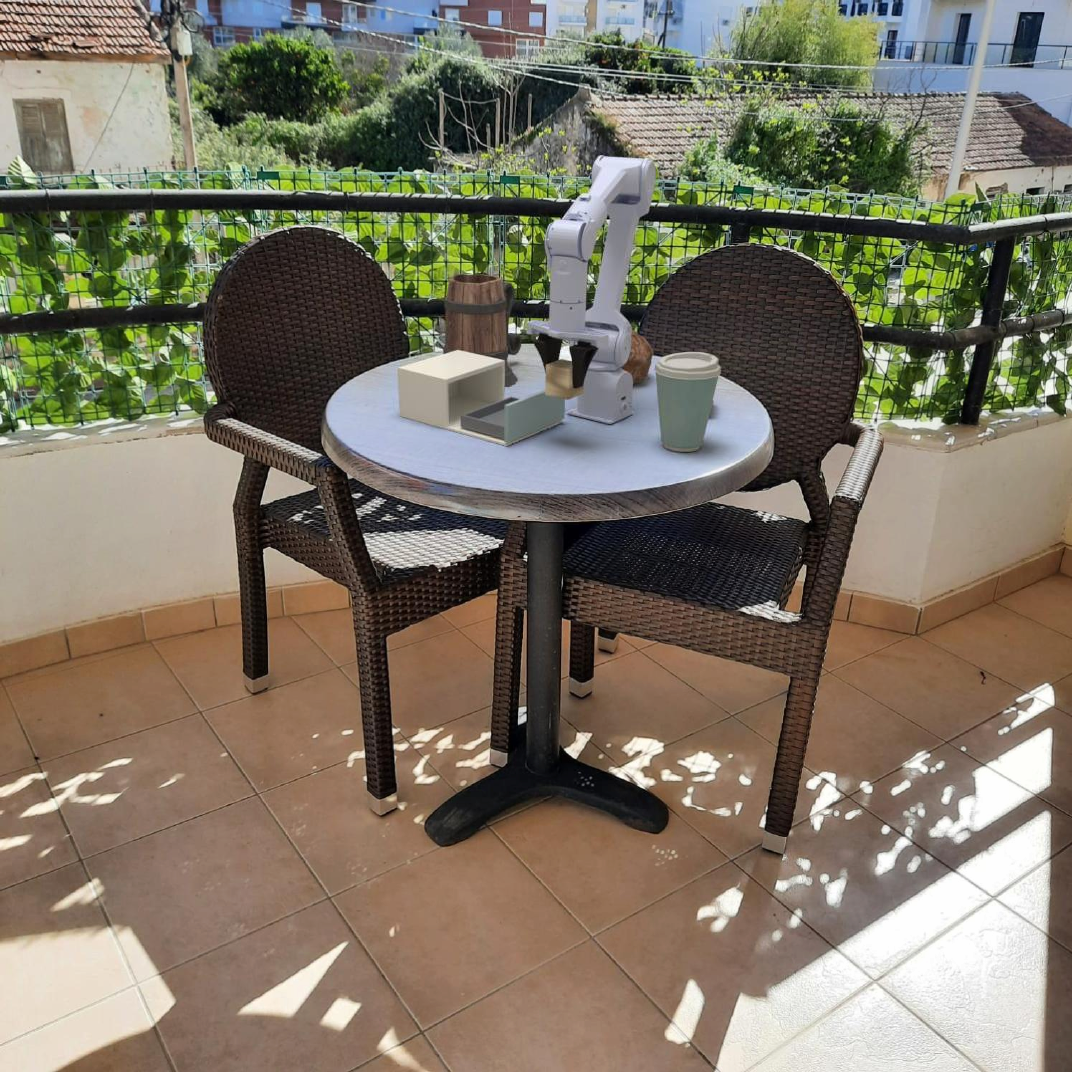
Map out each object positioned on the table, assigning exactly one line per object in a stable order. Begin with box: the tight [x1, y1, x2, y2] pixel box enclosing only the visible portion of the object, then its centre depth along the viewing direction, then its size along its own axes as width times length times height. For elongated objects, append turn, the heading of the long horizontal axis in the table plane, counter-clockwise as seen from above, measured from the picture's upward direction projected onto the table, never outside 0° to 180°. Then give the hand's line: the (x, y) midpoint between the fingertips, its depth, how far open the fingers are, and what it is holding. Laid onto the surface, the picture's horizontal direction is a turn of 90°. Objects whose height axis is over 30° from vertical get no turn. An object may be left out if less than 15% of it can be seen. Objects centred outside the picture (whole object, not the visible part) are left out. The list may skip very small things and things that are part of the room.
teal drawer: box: [460, 389, 566, 443], centre depth 166 cm, size 11×16×6 cm
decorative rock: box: [620, 329, 654, 384], centre depth 194 cm, size 13×11×10 cm
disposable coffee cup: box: [654, 351, 722, 453], centre depth 158 cm, size 11×11×15 cm
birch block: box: [544, 358, 584, 401], centre depth 157 cm, size 4×4×5 cm
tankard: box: [442, 273, 523, 388], centre depth 192 cm, size 24×17×20 cm
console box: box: [397, 350, 563, 447], centre depth 169 cm, size 24×16×9 cm, turn 53°
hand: (564, 384), depth 157 cm, fingers closed on birch block, 4 cm apart
